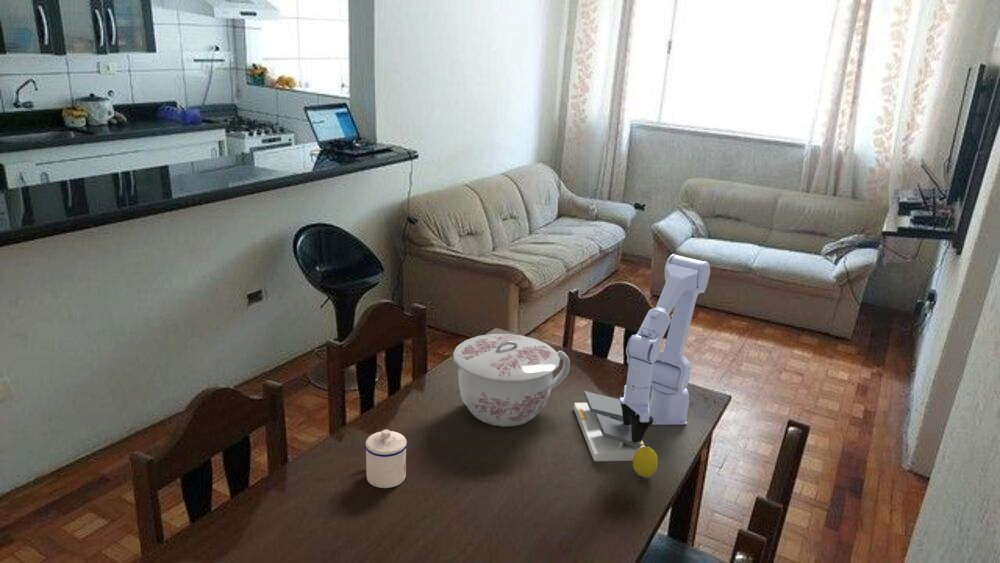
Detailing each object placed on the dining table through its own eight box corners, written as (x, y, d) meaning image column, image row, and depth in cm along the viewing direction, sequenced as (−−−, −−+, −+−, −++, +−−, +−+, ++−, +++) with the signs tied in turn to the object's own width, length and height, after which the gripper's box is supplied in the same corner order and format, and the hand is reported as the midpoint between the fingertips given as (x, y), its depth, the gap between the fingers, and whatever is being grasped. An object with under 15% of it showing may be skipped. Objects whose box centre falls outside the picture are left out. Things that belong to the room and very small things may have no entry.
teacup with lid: (414, 480, 154) (414, 435, 150) (377, 494, 149) (376, 447, 145) (389, 454, 163) (388, 410, 159) (352, 466, 158) (351, 421, 154)
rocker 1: (616, 404, 186) (618, 398, 186) (626, 423, 177) (628, 417, 177) (582, 395, 184) (584, 390, 184) (590, 414, 175) (592, 409, 175)
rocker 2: (627, 429, 175) (630, 424, 175) (638, 451, 166) (642, 445, 166) (592, 418, 173) (595, 412, 173) (602, 439, 164) (605, 433, 164)
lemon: (655, 486, 156) (660, 455, 154) (630, 482, 157) (634, 451, 155) (655, 472, 162) (659, 442, 159) (631, 468, 163) (635, 438, 160)
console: (620, 408, 188) (622, 398, 187) (647, 460, 166) (649, 448, 165) (573, 409, 187) (574, 398, 186) (594, 461, 164) (595, 449, 163)
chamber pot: (432, 424, 176) (434, 350, 169) (476, 379, 200) (479, 312, 193) (537, 452, 167) (543, 375, 160) (570, 401, 191) (576, 332, 184)
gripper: (614, 369, 172) (608, 417, 176) (630, 398, 158) (624, 449, 163) (642, 369, 173) (635, 417, 177) (660, 398, 159) (653, 449, 163)
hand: (632, 432), depth 170 cm, fingers open, 7 cm apart
